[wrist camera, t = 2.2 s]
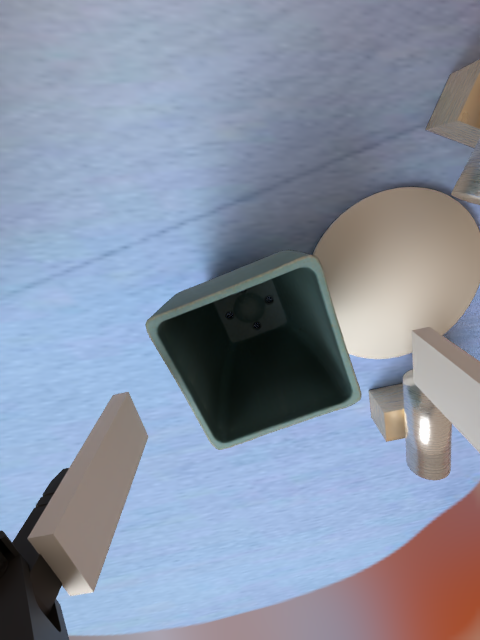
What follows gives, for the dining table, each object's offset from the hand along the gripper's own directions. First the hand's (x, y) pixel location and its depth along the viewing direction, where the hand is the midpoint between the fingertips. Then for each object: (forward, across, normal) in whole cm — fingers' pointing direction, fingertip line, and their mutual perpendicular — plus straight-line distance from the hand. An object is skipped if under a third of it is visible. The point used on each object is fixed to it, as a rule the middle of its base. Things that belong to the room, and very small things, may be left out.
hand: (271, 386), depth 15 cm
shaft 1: (+11, +10, -10) cm, 18 cm away
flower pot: (+11, 0, 0) cm, 11 cm away
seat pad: (+11, +10, 0) cm, 15 cm away
